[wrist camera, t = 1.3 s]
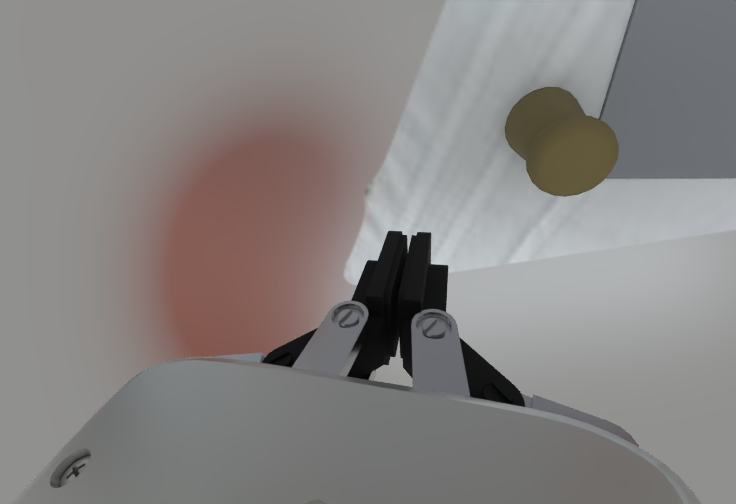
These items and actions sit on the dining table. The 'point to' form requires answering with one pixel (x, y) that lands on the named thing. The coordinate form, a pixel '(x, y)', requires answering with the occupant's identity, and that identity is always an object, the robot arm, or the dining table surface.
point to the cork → (561, 142)
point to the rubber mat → (675, 91)
